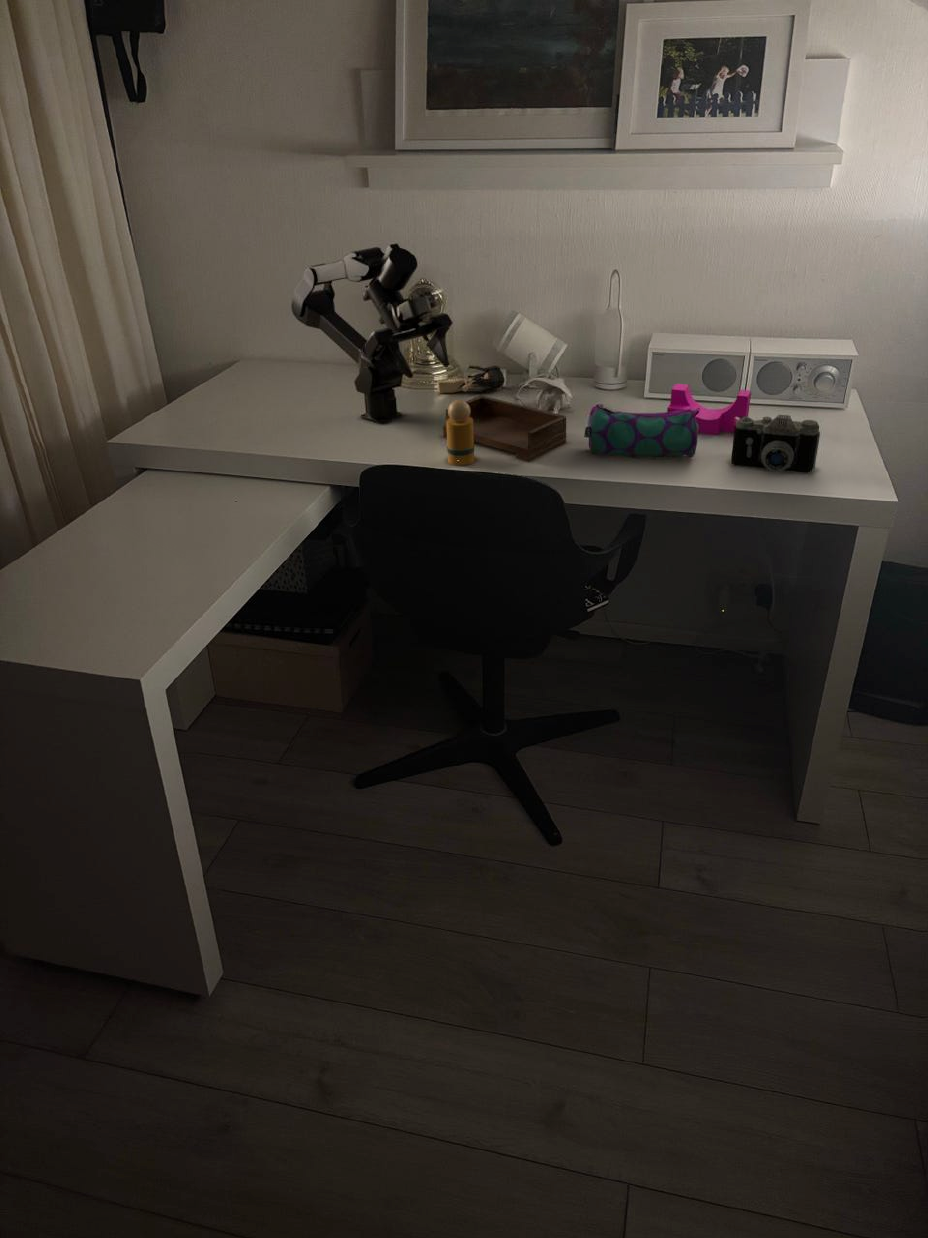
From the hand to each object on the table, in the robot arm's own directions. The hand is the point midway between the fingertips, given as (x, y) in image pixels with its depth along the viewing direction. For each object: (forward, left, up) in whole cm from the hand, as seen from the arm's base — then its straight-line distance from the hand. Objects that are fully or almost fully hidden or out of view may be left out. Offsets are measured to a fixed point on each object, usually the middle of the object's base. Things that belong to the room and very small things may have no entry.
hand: (429, 371), depth 190 cm
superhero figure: (+10, +27, -14) cm, 32 cm away
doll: (+13, -6, -14) cm, 19 cm away
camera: (+61, +25, -14) cm, 67 cm away
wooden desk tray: (+13, +7, -14) cm, 20 cm away
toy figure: (-12, +26, -14) cm, 32 cm away
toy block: (+42, +36, -14) cm, 57 cm away
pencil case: (+39, +17, -14) cm, 44 cm away
